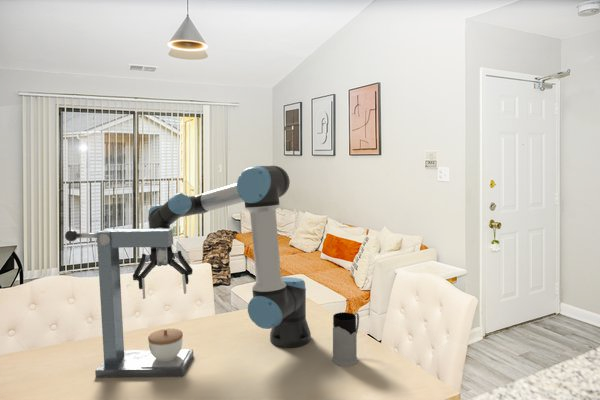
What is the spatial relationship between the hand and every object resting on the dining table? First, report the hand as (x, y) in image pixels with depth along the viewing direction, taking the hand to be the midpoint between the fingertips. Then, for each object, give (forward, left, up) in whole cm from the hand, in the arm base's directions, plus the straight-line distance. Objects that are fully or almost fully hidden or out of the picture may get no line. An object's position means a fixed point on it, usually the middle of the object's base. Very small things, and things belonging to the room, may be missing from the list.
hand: (164, 294), depth 149 cm
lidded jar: (-3, +10, -18) cm, 21 cm away
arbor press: (+9, +10, -21) cm, 25 cm away
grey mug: (-63, +5, -21) cm, 66 cm away
